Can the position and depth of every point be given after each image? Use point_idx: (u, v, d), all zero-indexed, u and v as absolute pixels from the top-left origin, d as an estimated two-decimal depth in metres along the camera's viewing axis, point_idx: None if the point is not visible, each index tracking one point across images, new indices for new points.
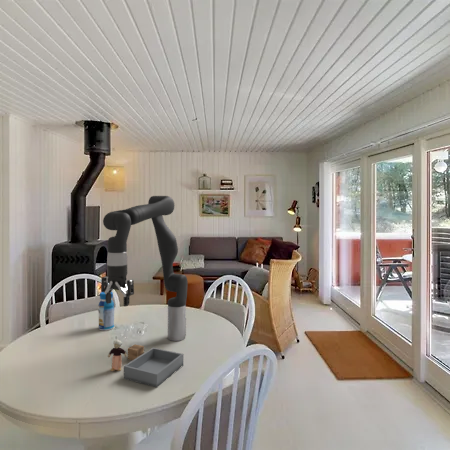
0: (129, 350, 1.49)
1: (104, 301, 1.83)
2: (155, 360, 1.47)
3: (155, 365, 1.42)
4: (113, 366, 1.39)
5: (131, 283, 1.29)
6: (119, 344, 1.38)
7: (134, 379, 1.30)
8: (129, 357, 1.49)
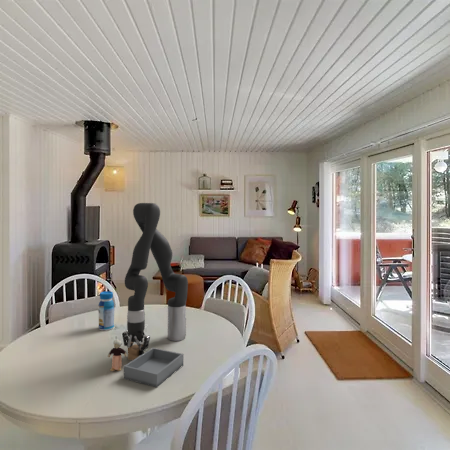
0: (129, 350, 1.49)
1: (104, 301, 1.83)
2: (155, 360, 1.47)
3: (155, 365, 1.42)
4: (113, 366, 1.39)
5: (148, 339, 1.48)
6: (119, 344, 1.38)
7: (134, 379, 1.30)
8: (129, 357, 1.49)
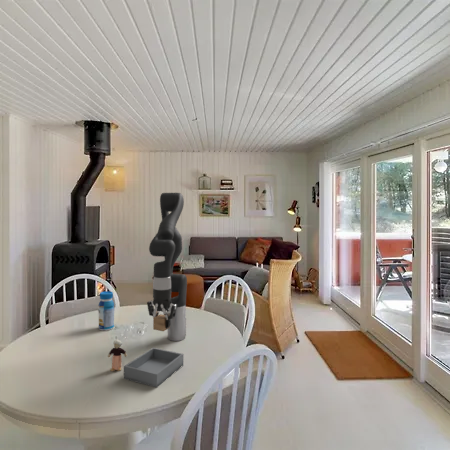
0: (155, 319, 1.40)
1: (104, 301, 1.83)
2: (155, 360, 1.47)
3: (155, 365, 1.42)
4: (113, 366, 1.39)
5: (175, 308, 1.39)
6: (119, 344, 1.38)
7: (134, 379, 1.30)
8: (155, 327, 1.40)
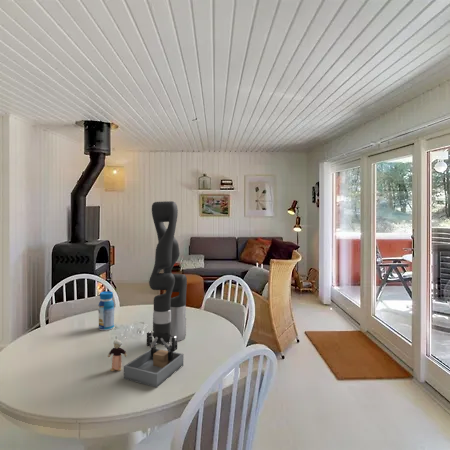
0: (155, 356, 1.41)
1: (104, 301, 1.83)
2: None
3: None
4: (113, 366, 1.39)
5: (175, 340, 1.40)
6: (119, 344, 1.38)
7: (134, 379, 1.30)
8: (155, 363, 1.41)
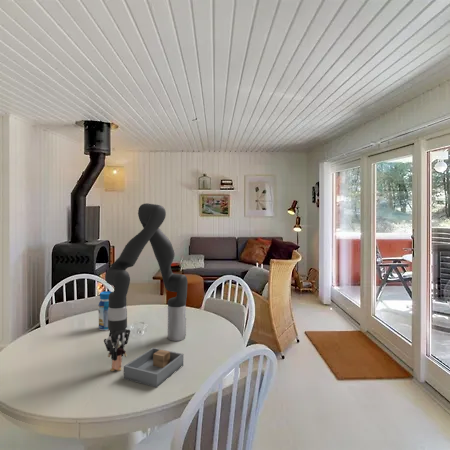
0: (155, 356, 1.41)
1: (104, 301, 1.83)
2: None
3: None
4: (113, 366, 1.39)
5: (106, 343, 1.33)
6: (119, 344, 1.38)
7: (134, 379, 1.30)
8: (155, 363, 1.41)
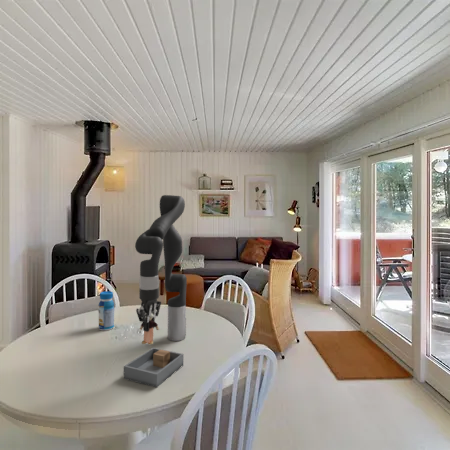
0: (155, 356, 1.41)
1: (104, 301, 1.83)
2: None
3: None
4: (145, 339, 1.34)
5: (139, 313, 1.28)
6: (151, 316, 1.32)
7: (134, 379, 1.30)
8: (155, 363, 1.41)
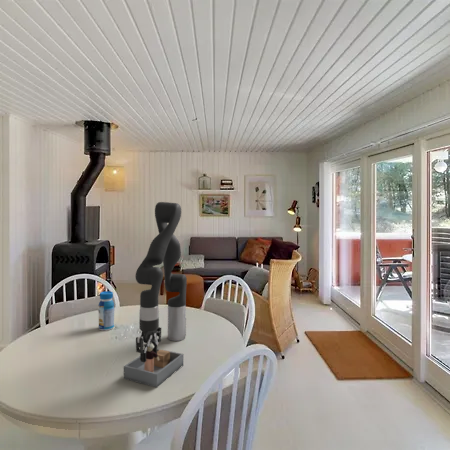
0: None
1: (104, 301, 1.83)
2: None
3: None
4: (145, 369, 1.34)
5: (138, 341, 1.28)
6: (151, 347, 1.33)
7: (134, 379, 1.30)
8: (155, 363, 1.41)
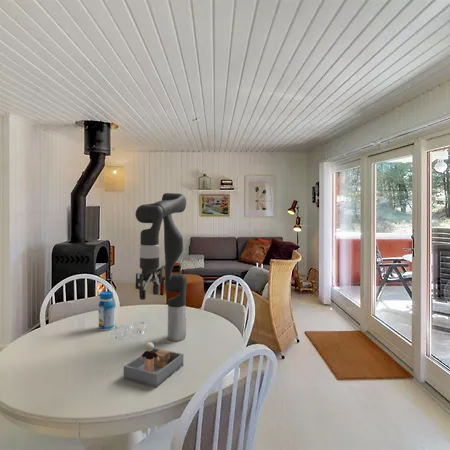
0: None
1: (104, 301, 1.83)
2: None
3: None
4: (145, 369, 1.34)
5: (138, 277, 1.26)
6: (151, 347, 1.33)
7: (134, 379, 1.30)
8: (155, 363, 1.41)
